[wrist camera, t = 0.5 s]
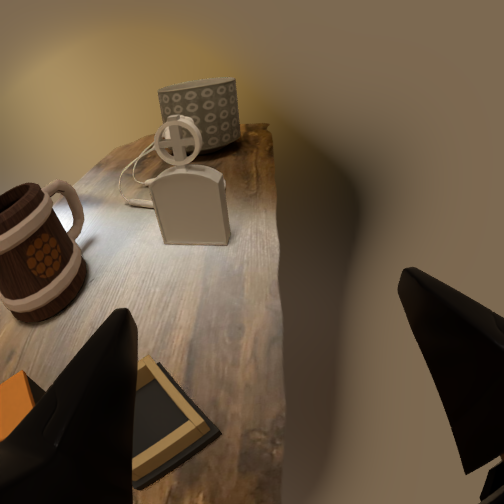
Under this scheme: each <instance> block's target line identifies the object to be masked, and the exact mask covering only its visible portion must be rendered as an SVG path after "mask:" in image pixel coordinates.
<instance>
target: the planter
mask: <svg viewBox="0 0 504 504" xmlns="http://www.w3.org/2000/svg"><path fill="white" fill-rule="evenodd" d="M158 96H159V102H160V108H161V114H162V120H163V124H164V123H166V122H167V121H168V120H167V117H169V116H171V115H178V114H180V115H183V116H185V117H186V116H187V117H190V118H192V119H193V121H194V125H195V126H196V127H197V128H198V129H199V131H200V133H201V136H202V147H201V150H200V152H199V154H198V155H203V154H209V153H213V152H216V151H218V150H220V149H222V148H224V147H225V146H227V145H228V144H229V143H232V142H234V141H235V140H237V139H238V138H239V137H240V124H239V113H238V103H237V92H236V81H235V78H228V77H227V78H226V77H225V78H211V79H202V80H195V81H189V82H184V83H179V84H176V85H171V86H167V87H164V88H161V89H159V90H158ZM182 132H183V137H191V136H193V135H192V134H191V132H190V131H189V130H188V129H186V128H184V127H182ZM168 148H169V149H170V150H173V148H172V147H168ZM194 149H195V145H188V146H185V150H186V153H187V154H193V152H194Z"/></svg>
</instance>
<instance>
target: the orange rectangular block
mask: <svg viewBox="0 0 504 504" xmlns="http://www.w3.org/2000/svg"><path fill="white" fill-rule="evenodd" d="M45 393H46V392H45V391H44V390H43V389H42V388H40V387H39V386H38V385H37V384H36V383H35V382H34V381H33V380H32V379H30V378H29V377H28V376H27V375H26V373H25V372H24V371H23V370H21V371H20V372H18V373H17V374H15V375H14V376H12V377H11V378H9V379H8V380H6V381H5V382H3V383H2V384H1V385H0V442H1V441H3V440H4V439H5V438H6V437H7V436H8V435H9V434H10V433H11V432H12V431H13V430H14V428H15V427H16V426H17V425H18V424H19V423H20V422H21V421H22V420H23V418H24V417H25V416H26V415H27V414H28V413H29V412H30V411H31V409H32V408H33V407H34V406H35V405H36V404H37V403H38V401H39V400H40V399H41V398H42V396H43V395H44V394H45Z"/></svg>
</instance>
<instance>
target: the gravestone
mask: <svg viewBox="0 0 504 504" xmlns="http://www.w3.org/2000/svg"><path fill="white" fill-rule="evenodd" d="M167 120H168V121H167V122H166V123H164V124H163V125H162V126H160V127H159V129H158V130H157V132H156V134H155V137H154V146H155V149H156V151H157V153H158V155H159V156H160V157H161V158H162V159H163V160H164V161H165V162H167V163H169V164H172V165H176V166H175V167H171V168H169V169H166V170H165V171H163V172H162V173H160V174H159V175H158V176H157V177H156V179H155V180H154V181H153V182H152V183H151V184H150V185H149V191H150V195H151V199H152V202H153V206H154V210H155V213H156V217H157V220H158V224H159V227H160V231H161V234H162V237H163V241H164V244H180V245H225V246H227V244H228V241H229V238H230V235H231V232H230V224H229V217H228V210H227V202H226V195H225V187H224V179H223V174H222V173H220V172H219V171H217V170H215V169H213V168H210V167H207V166H202V165H189V164H188V163H190V162H191V161H193V160H194V159H195V157H196V156H197V155H198V154H199V152H200V150H201V147H202V136H201V133H200V131H199V129H198V128H197V127H196V126H195V125H194V124H193V123H192V122H190V121H189V120H186V119H182V118H180V114H178V115H171V116H169V117H167ZM168 126H169V132H170V137H171V139H163V140H162V134H163V132H164V130H165V129H166V127H168ZM182 127H185V128H186V129H188V130H189V131H190V132H191V134H192V135H193V136H191V137H183V132H182ZM188 145H195V149H194V152H193V154H192V155H190V156H188V157H187V156H186V150H185V146H188ZM167 147H172V148H173V153H174V156H172V155H170V154H169V153H168V152H167V151H166V150H165V149H164V148H167Z"/></svg>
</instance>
